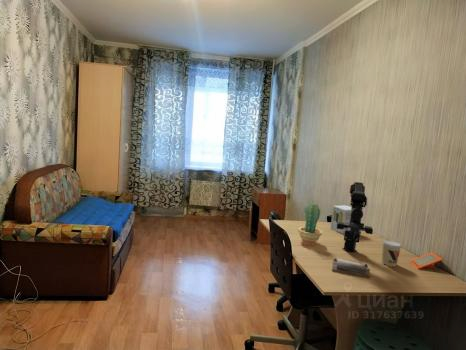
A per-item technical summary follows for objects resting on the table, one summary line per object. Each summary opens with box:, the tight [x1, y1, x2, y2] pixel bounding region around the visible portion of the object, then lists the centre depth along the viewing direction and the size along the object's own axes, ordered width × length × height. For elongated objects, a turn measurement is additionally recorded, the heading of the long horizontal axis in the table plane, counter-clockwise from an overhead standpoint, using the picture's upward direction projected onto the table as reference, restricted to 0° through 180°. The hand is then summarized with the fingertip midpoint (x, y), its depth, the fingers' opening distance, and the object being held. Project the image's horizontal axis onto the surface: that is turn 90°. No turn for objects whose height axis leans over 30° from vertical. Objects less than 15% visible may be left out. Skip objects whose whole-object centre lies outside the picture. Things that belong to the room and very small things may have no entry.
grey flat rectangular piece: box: [336, 257, 366, 274], centre depth 192 cm, size 12×14×2 cm
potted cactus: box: [297, 202, 323, 246], centre depth 231 cm, size 15×15×25 cm
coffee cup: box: [381, 240, 402, 267], centre depth 205 cm, size 9×9×12 cm
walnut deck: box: [331, 257, 370, 279], centre depth 192 cm, size 14×18×2 cm
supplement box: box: [330, 204, 352, 235], centre depth 266 cm, size 13×13×18 cm
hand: (352, 242), depth 202 cm, fingers closed
